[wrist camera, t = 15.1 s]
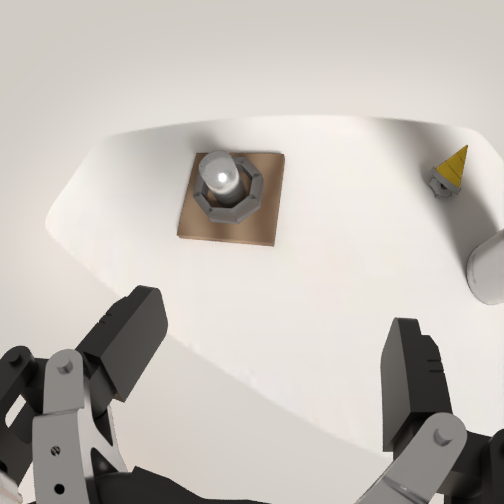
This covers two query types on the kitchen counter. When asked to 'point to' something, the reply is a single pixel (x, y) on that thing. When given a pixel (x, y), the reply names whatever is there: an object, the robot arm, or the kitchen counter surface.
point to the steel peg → (222, 178)
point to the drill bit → (449, 175)
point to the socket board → (250, 226)
